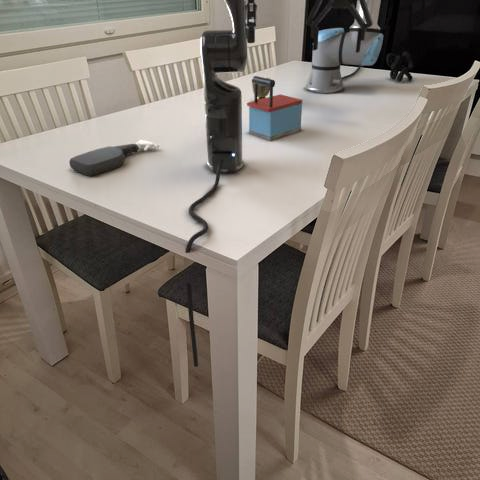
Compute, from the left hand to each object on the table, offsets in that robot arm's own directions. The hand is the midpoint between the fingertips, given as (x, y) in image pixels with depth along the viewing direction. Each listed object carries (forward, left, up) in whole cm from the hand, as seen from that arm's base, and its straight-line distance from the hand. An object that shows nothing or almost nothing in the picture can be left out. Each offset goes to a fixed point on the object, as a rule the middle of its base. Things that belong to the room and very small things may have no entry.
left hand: (250, 40), depth 134 cm
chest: (-5, -8, -26) cm, 28 cm away
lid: (-5, -8, -17) cm, 20 cm away
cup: (+32, -3, -26) cm, 42 cm away
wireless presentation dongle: (-29, +37, -26) cm, 54 cm away
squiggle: (+66, -65, -26) cm, 97 cm away
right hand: (+7, -27, -4) cm, 28 cm away
